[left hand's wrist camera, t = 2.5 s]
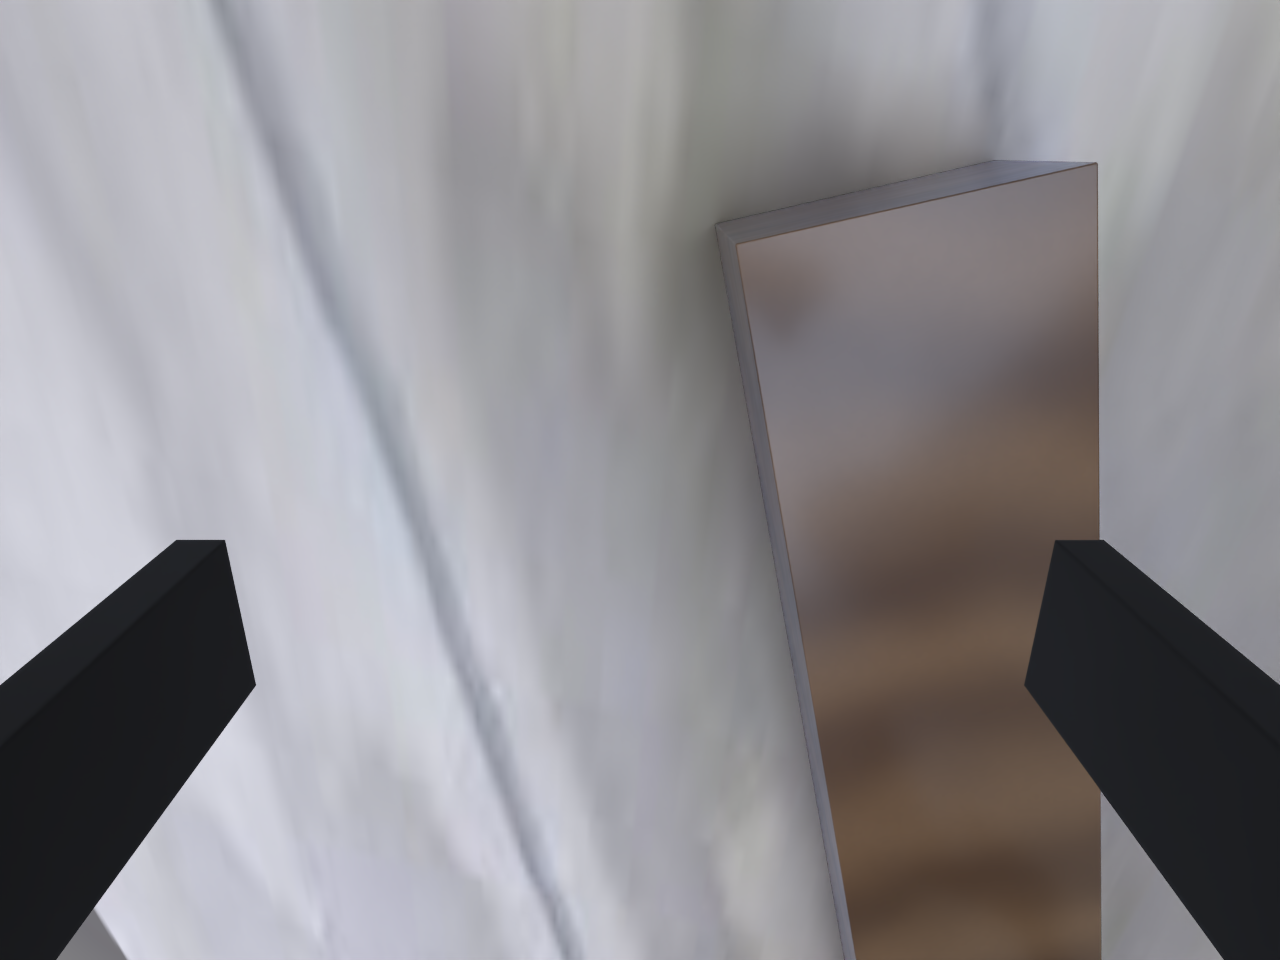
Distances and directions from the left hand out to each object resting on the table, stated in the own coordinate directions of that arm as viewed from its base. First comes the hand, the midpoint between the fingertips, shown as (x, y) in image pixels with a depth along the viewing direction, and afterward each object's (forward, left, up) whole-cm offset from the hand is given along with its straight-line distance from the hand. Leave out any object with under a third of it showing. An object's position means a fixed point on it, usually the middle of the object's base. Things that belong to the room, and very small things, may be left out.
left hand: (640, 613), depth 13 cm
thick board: (-6, +24, -20) cm, 32 cm away
